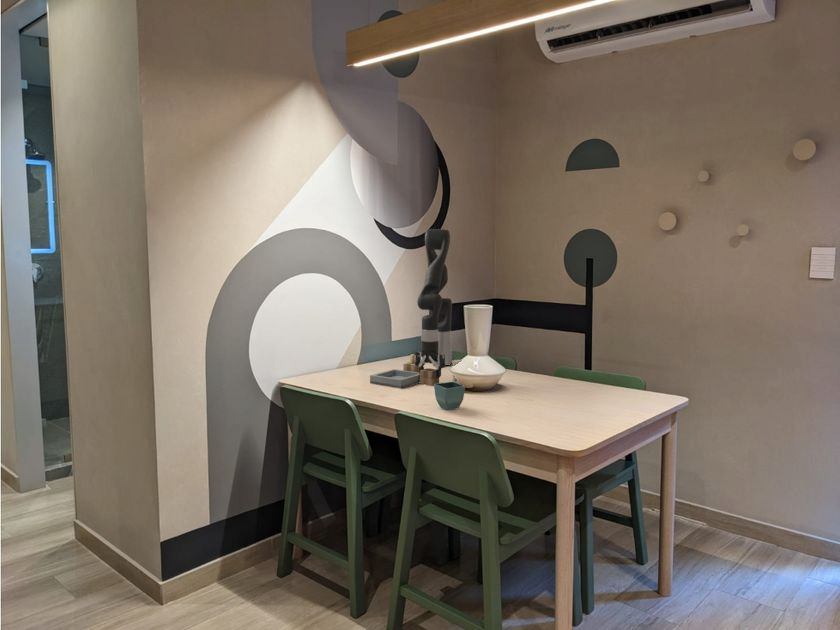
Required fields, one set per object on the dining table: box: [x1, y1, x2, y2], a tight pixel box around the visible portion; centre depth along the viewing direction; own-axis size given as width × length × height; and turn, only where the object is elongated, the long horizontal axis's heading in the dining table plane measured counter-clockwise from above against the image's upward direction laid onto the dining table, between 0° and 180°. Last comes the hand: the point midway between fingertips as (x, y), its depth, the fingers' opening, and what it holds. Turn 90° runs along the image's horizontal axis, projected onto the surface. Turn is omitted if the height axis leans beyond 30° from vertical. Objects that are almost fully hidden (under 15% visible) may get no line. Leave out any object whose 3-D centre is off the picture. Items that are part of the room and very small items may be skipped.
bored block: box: [419, 368, 440, 386], centre depth 297 cm, size 6×6×6 cm
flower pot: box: [433, 381, 466, 411], centre depth 255 cm, size 9×9×9 cm
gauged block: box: [402, 353, 419, 373], centre depth 312 cm, size 6×6×10 cm
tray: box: [369, 368, 420, 389], centre depth 300 cm, size 17×17×4 cm
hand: (429, 376), depth 296 cm, fingers open, 8 cm apart
